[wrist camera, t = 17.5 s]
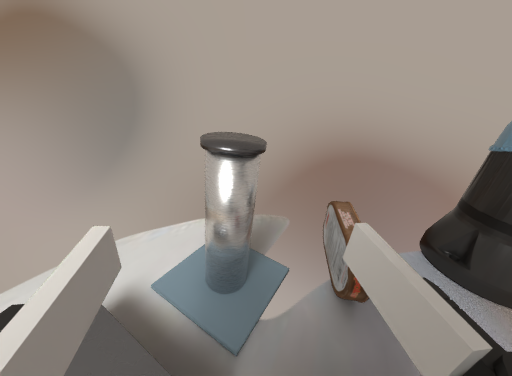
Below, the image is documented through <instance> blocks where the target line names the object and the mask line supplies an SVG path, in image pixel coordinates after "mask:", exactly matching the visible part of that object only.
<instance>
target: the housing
mask: <svg viewBox="0 0 512 376" xmlns="http://www.w3.org/2000/svg"><path fill="white" fill-rule="evenodd" d="M64 376H171V375H170V374H169V373H168V372H167V371H166V370H165V369H164V368H163V367H162V366H161V365H160V364H159V363H158V362H157V361H156V360H155V359H154V358H153V357H152V356H151V355H150V354H149V353H148V351H147V350H146V349H145V348H144V347H143V346H142V345H141V344H140V343H139V342H138V341H137V340H136V339H135V338H134V337H133V336H132V335H131V334H130V333H129V332H128V331H127V330H126V329H125V328H124V327H123V326H122V325H121V324H120V323H119V322H118V321H117V320H116V319H115V318H114V317H113V316H112V315H111V314H110V313H109V312H108V311H107V310H106V308H105V307H104V306H103V305H101V307H100V308H99V310H98V312H97V314H96V316H95V318H94V320H93V322H92V324H91V325H90V327H89V329H88V331H87V333H86V335H85V337H84V339H83V340H82V342H81V344H80V346H79V348H78V350H77V352H76V354H75V355H74V357H73V359H72V361H71V363H70V365H69V367H68V369H67V370H66V372H65V374H64Z"/></svg>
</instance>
